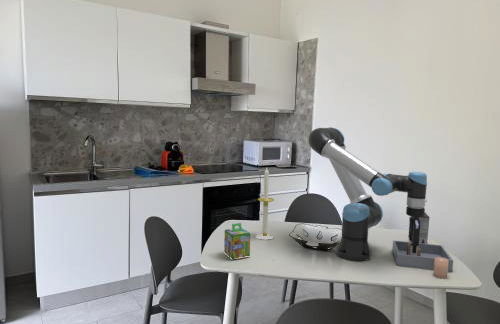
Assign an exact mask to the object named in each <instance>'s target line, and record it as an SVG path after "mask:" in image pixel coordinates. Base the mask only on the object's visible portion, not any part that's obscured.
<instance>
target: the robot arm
mask: <svg viewBox="0 0 500 324" xmlns="http://www.w3.org/2000/svg"><path fill="white" fill-rule="evenodd" d="M307 139H308V140H307V141H308V145H309V147H310V148H311V150H312V151H314V152H316V153H317V154H318V155H320V156H321V157H323V158H326V159H328V160H329V162H330V163H331V165H332V167H333V169H334V172H335V174H336V175H337V177H338V180H339V181H340V183H341V185H342V187H343V189H344V191H345V193H346V196H347V198H348V199H349V202H350V203H348V204H345V205H344V206H343V207H342V208H343V210H342V213H341V214H342V215H341V216H342V217H341V218H342V221H341V238H340V240H339V243H338V246H337V249H336V255H337V256H338V257H340V258H342V259H344V260H347V261H353V262H364V261H368V260H370V259H371V257H372V254H371V253H372V252H371V248H370V245H369V240H368V238H369V229H371V228H373V227H375V226H377V225H378V224H379V223H380V222H381V221H382V219H383V216H384V214H383V213H384V211H383V208H382V206H381V205H380V204H379V203H378V202H375V200H374V199H373V197H372V195H370V194H368V193H367V192H366V190H365V188H364V186H363V185H362V183H364V184H366V186H368V187H370V188H371V190H372V192H373V193H374V194H375V195H377V196H378V197H379V196H380V197H382V196H383V197H384V196H388V195H390V194H392V193H394V192H399V193H400V192H401V193H407V195H406V209H405V210H406V212H405V214H406V215H407V216H408V218H409V220H408V221H409V223H408V225H409V226H408V236H407V237H408V242H409V245H411V250H410V255H413V256H417V249H418V246H419V234H420V226H421V225H420V221H419V217H423V216H424V215H425V213H426V212H425V211H426V208H425V207H426V203H427V201H428V200H427V199H426V198H427V197H426V196H427V195H426V194H427V187H428V182H427V181H428V179H427V178H428V175H427V173H425V172H423V171H409V172H408V175H402V174H395V173H393V174H392V173H381V172H380V171H378V170H377V169H375V168H374V167H372V166H371V165H369V164H368V163H366V162H364V161H363V160H362V159H360V158H358V157H357V156H355V155H354V154H352V153H351V152H349V151H348V150H346V144H345V135H344V134H343V132H342V131H341V130H340V129H338V128H335V127H318V128H314V129H313V130H312V131H310V133H309V135H308V138H307Z"/></svg>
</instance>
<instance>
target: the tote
mask: <svg viewBox="0 0 500 324" xmlns="http://www.w3.org/2000/svg"><path fill="white" fill-rule="evenodd" d="M407 245H409V241H401V240H392V249H391V250H392V251H391V252H392V254H393V257H394V261H395V264H396V266H399V267H406V268H407V267H408V268H416V269H422V270H431V271H434V260H435V257H443V258H446V259H448V260H449V261H448V272H449V273H453V267H454V259H453V258H452V257H451V255H450V254H449V253H448V251H447V250H446V248H445V247H444V246H443V245H440V244H432V243H427V244H423V243H419V248H420V249H421V254H420V256H413V255H406V254H407ZM448 272H447V273H448Z"/></svg>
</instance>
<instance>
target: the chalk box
mask: <svg viewBox="0 0 500 324" xmlns="http://www.w3.org/2000/svg"><path fill="white" fill-rule="evenodd" d="M223 248H224V249H223V250H224V251H223V253H224V252H225V253H226V254H227V255H228V256H229V257H231V258H232V259H234V258H239V257H245V256H250V255H251V232H249V231H248V230H247V229H244V228H242V223H241V222H237V223H232V224H231V228H228V229H227V228H226V229H224V245H223ZM229 257H228V258H229ZM250 257H251V256H250Z"/></svg>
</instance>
